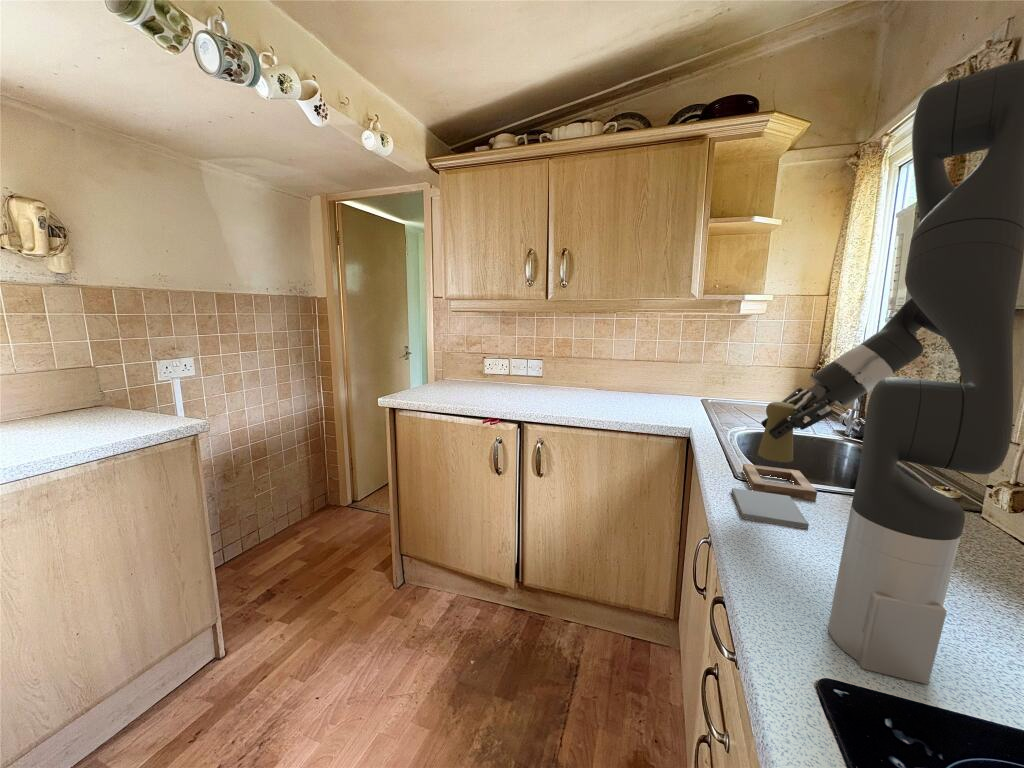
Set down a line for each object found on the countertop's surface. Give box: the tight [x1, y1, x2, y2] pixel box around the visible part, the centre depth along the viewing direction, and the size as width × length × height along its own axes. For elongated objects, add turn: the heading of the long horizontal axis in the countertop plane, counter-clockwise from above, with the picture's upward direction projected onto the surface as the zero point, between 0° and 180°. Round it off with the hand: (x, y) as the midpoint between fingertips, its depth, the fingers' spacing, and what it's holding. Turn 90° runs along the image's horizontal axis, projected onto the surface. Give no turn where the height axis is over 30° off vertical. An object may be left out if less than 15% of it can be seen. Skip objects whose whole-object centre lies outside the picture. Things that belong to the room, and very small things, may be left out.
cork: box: [757, 401, 795, 463], centre depth 81 cm, size 6×6×11 cm
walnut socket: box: [742, 463, 818, 501], centre depth 96 cm, size 12×12×2 cm
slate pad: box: [731, 487, 810, 530], centre depth 84 cm, size 12×11×1 cm
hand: (768, 430), depth 82 cm, fingers closed on cork, 5 cm apart
